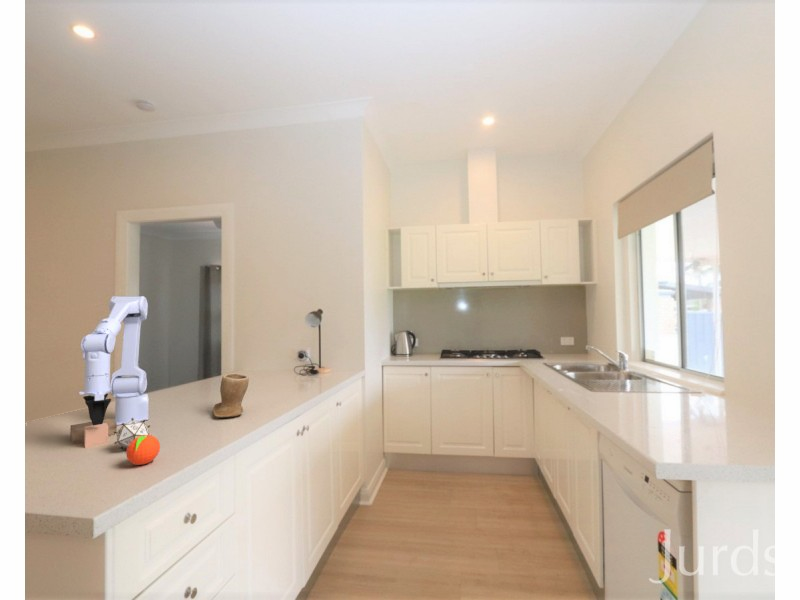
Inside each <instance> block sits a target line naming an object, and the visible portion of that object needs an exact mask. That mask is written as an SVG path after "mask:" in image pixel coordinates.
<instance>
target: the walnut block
mask: <svg viewBox="0 0 800 600" xmlns="http://www.w3.org/2000/svg"><path fill="white" fill-rule="evenodd" d="M113 419H114V418H111V417H110V418H104V420H103V423H107V425H108V436H109V437H112V436H111V435H114V436H116V435H117V433H114V432H118V429H117V426H118V425H117V423H116V422H115V421H114V420H113ZM90 425H93V424H92V421H87V422H82V423H76V424H70V429H69V432H70V435H69V437H70V441H71V442H72V443H73V444H78V443H84V427H85V426H90ZM115 434H116V435H115Z"/></svg>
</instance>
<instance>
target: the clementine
mask: <svg viewBox="0 0 800 600" xmlns="http://www.w3.org/2000/svg"><path fill="white" fill-rule="evenodd" d="M151 435H152V434H151ZM151 435H150V434H149V435H143V436H139V437H137V438H135V439H134V440H133V441H132V442H131V443H130V444H129V446H128V448H126V458H127V460H128V461H129V462H130V463H131V464H133V465H136V466H139V465H140V466H143V465H147V464H149V463H150V462H152V461H153V460H154V459H156V457H157V456H158V455H159V453H160V451H161V450H160V449H161V444H160V441H159V439H158V438H157V437H155V436H154V435H152V436H151Z"/></svg>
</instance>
